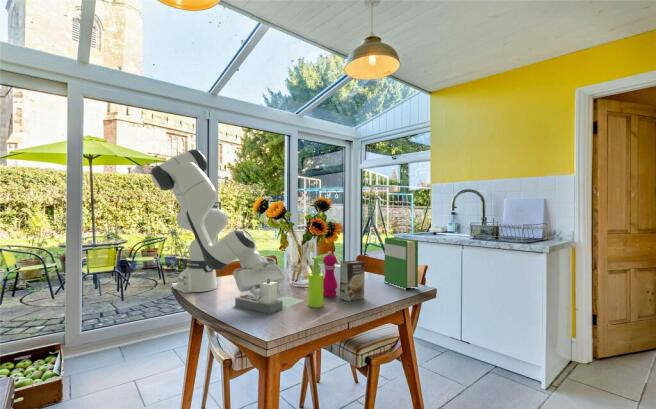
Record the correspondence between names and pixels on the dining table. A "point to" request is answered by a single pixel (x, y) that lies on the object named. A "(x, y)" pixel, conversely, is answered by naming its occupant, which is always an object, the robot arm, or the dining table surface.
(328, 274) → the pepper mill
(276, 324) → the dining table surface
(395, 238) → the hardback book
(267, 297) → the white pillar candle
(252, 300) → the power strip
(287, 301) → the rubber mat
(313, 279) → the soap dispenser
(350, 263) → the coffee box
